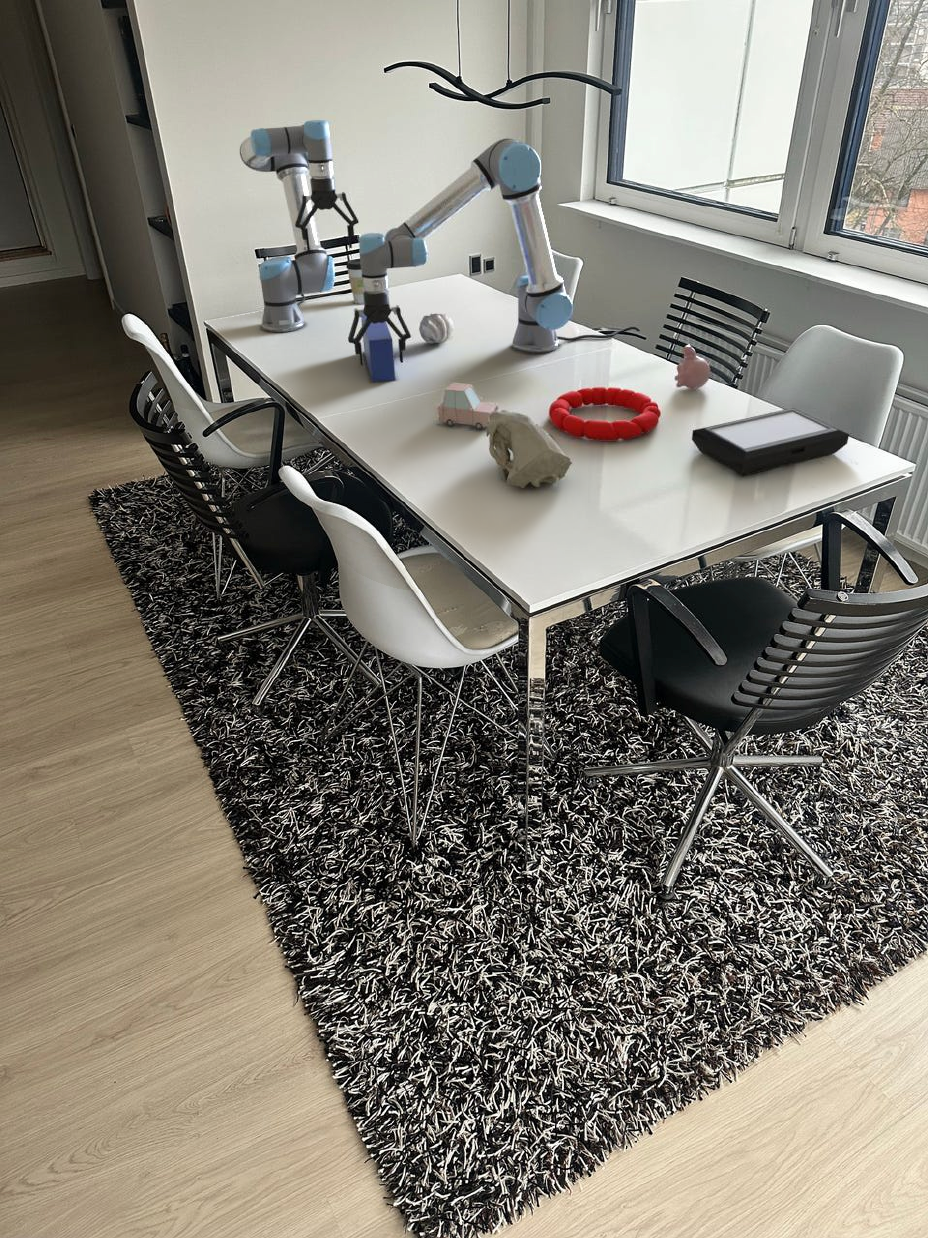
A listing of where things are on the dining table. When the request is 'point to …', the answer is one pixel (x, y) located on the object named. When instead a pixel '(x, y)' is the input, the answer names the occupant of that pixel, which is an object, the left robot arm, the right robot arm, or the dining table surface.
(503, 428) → the animal skull
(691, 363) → the figurine
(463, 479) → the dining table surface
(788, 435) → the electronic device
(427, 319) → the seashell
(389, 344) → the box
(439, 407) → the toy car
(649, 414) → the decorative ring
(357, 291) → the coffee cup
